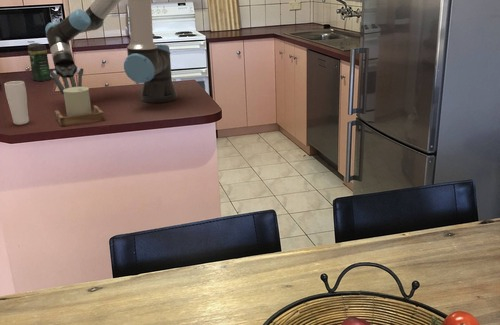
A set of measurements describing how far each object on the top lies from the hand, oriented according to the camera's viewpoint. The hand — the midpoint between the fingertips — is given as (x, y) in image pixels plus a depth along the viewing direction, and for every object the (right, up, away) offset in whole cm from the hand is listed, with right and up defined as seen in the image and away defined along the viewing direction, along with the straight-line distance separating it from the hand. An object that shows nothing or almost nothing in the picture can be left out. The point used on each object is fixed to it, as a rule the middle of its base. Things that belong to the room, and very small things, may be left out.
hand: (76, 107), depth 197 cm
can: (+3, -5, -3) cm, 7 cm away
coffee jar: (-41, +21, +70) cm, 84 cm away
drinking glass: (-18, -7, -6) cm, 20 cm away
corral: (+2, -4, -2) cm, 5 cm away
